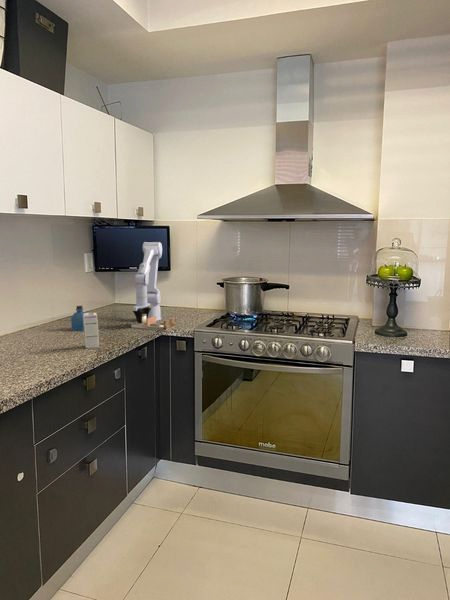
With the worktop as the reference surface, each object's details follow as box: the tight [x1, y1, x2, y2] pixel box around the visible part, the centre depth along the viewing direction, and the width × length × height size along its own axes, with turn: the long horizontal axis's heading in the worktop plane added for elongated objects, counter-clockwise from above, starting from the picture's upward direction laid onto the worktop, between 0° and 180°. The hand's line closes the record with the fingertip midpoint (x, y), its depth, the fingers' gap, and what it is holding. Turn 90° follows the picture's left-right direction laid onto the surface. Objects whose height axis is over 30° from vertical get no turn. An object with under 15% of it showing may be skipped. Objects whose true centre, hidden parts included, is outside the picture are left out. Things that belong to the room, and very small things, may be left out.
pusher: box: [146, 316, 161, 327], centre depth 238 cm, size 9×5×4 cm, turn 160°
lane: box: [130, 316, 177, 332], centre depth 238 cm, size 12×20×5 cm, turn 70°
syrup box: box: [83, 312, 100, 349], centre depth 197 cm, size 6×6×14 cm
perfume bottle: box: [70, 305, 87, 332], centre depth 231 cm, size 6×6×12 cm
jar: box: [136, 313, 147, 326], centre depth 241 cm, size 5×5×6 cm
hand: (142, 322), depth 241 cm, fingers closed on jar, 5 cm apart
